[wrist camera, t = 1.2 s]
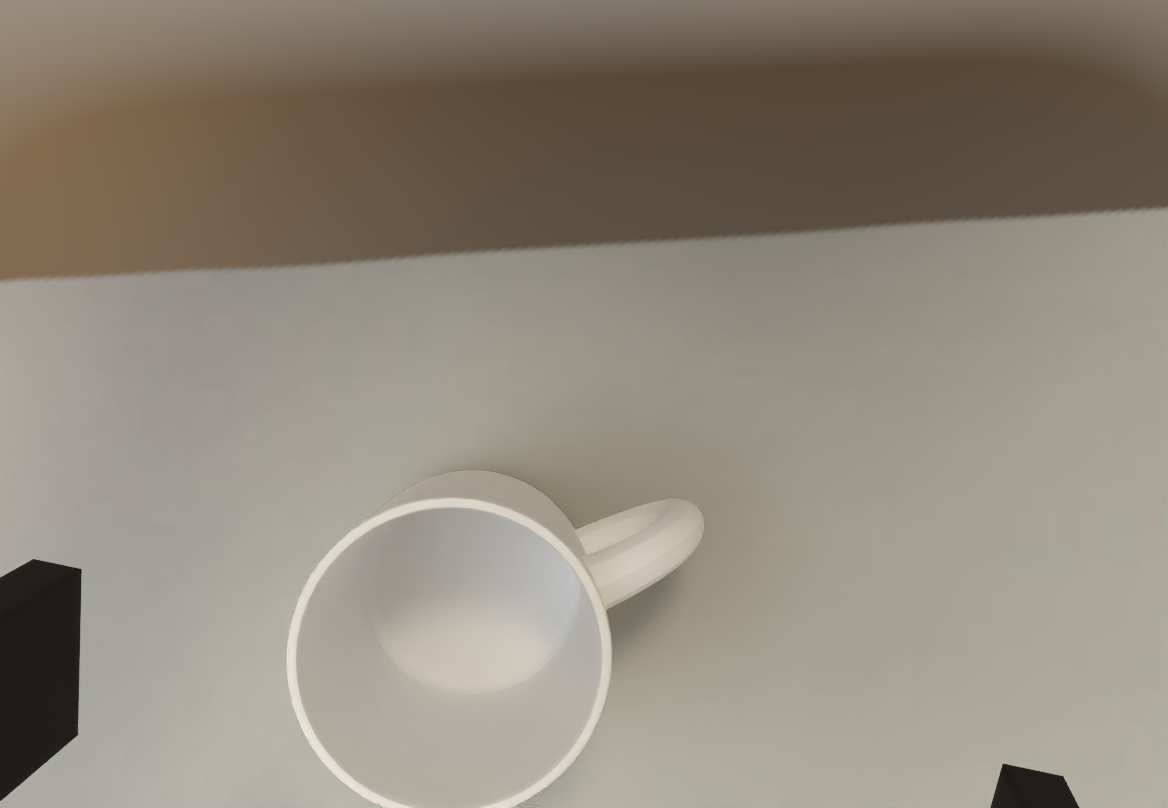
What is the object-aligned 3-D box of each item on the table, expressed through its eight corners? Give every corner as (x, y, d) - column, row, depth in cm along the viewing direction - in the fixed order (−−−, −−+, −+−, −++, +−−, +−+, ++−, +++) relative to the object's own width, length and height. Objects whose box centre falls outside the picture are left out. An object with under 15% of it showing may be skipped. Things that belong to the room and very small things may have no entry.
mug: (635, 392, 36) (675, 391, 26) (721, 605, 37) (794, 689, 26) (319, 520, 36) (233, 571, 26) (409, 736, 36) (359, 873, 26)
